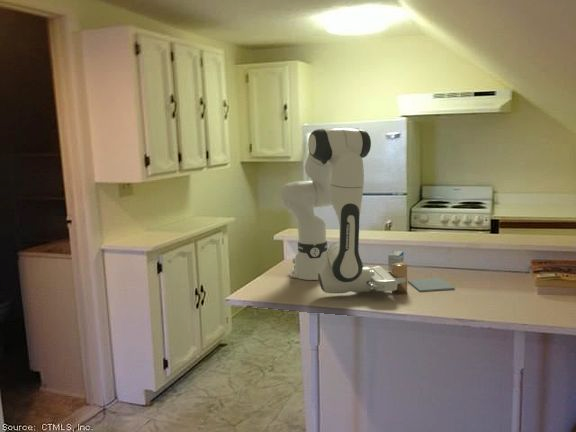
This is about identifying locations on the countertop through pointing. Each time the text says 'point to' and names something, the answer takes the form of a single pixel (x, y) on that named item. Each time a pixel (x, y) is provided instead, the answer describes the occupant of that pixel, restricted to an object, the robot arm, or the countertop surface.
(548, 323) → the countertop surface
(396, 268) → the tea tin
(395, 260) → the medicine box
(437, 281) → the mat
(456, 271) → the countertop surface
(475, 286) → the countertop surface
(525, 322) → the countertop surface
